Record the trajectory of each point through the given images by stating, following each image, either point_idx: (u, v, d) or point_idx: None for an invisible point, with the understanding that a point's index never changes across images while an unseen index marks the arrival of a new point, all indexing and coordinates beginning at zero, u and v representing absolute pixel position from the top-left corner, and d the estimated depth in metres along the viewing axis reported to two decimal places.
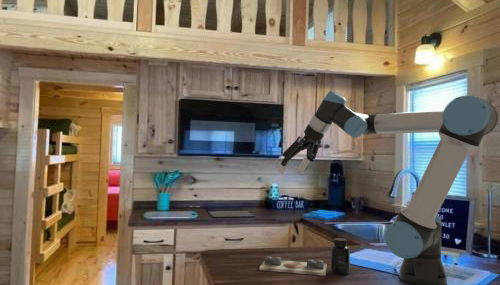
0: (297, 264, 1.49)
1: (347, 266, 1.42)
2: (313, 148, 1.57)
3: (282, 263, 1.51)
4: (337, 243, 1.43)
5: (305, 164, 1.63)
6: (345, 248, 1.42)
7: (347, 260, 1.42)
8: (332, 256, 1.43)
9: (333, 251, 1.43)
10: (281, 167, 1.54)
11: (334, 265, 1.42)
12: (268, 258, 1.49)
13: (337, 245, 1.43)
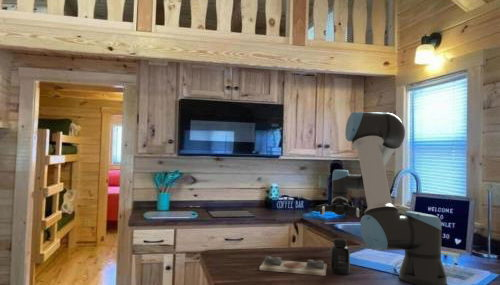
0: (297, 264, 1.49)
1: (347, 266, 1.42)
2: (347, 204, 1.68)
3: (282, 263, 1.51)
4: (337, 243, 1.43)
5: None
6: (345, 248, 1.42)
7: (347, 260, 1.42)
8: (332, 256, 1.43)
9: (333, 251, 1.43)
10: (322, 211, 1.60)
11: (334, 265, 1.42)
12: (268, 258, 1.49)
13: (337, 245, 1.43)
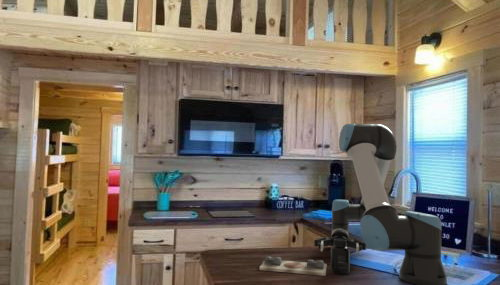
0: (297, 264, 1.49)
1: (347, 266, 1.42)
2: (347, 238, 1.63)
3: (282, 263, 1.51)
4: (337, 243, 1.43)
5: (356, 245, 1.54)
6: (345, 248, 1.42)
7: (347, 260, 1.42)
8: (332, 256, 1.43)
9: (333, 251, 1.43)
10: (320, 247, 1.55)
11: (334, 265, 1.42)
12: (268, 258, 1.49)
13: (337, 245, 1.43)
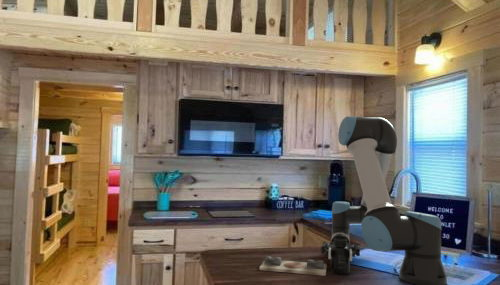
0: (297, 264, 1.49)
1: (347, 266, 1.42)
2: None
3: (282, 263, 1.51)
4: (337, 243, 1.43)
5: None
6: (345, 248, 1.42)
7: (347, 260, 1.42)
8: (332, 256, 1.43)
9: (334, 251, 1.43)
10: None
11: (334, 265, 1.42)
12: (268, 258, 1.49)
13: (337, 245, 1.43)
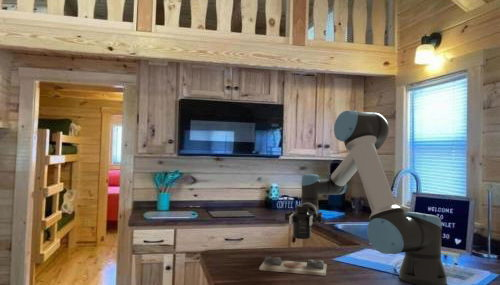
0: (297, 264, 1.49)
1: (308, 231, 1.47)
2: (310, 211, 1.58)
3: (282, 263, 1.51)
4: (299, 209, 1.48)
5: None
6: (306, 214, 1.47)
7: (308, 225, 1.47)
8: (294, 221, 1.48)
9: (295, 217, 1.48)
10: None
11: (296, 230, 1.47)
12: (268, 258, 1.49)
13: (298, 211, 1.48)
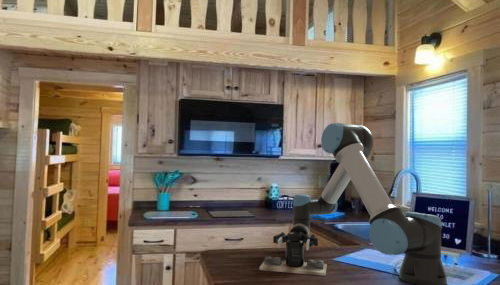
0: None
1: (300, 259, 1.46)
2: (304, 234, 1.57)
3: (282, 263, 1.51)
4: (291, 237, 1.47)
5: (307, 241, 1.47)
6: (299, 242, 1.46)
7: (300, 253, 1.46)
8: (286, 249, 1.47)
9: (288, 245, 1.47)
10: None
11: (288, 258, 1.46)
12: (268, 258, 1.49)
13: (291, 238, 1.47)
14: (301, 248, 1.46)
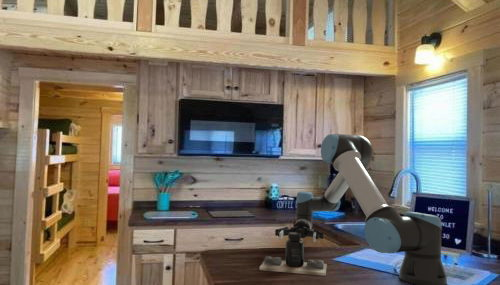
0: None
1: (300, 259, 1.46)
2: (307, 228, 1.70)
3: (282, 263, 1.51)
4: (291, 237, 1.47)
5: (314, 234, 1.61)
6: (299, 242, 1.46)
7: (300, 253, 1.46)
8: (286, 249, 1.47)
9: (287, 245, 1.47)
10: None
11: (288, 259, 1.46)
12: (268, 258, 1.49)
13: (291, 238, 1.47)
14: (301, 248, 1.46)
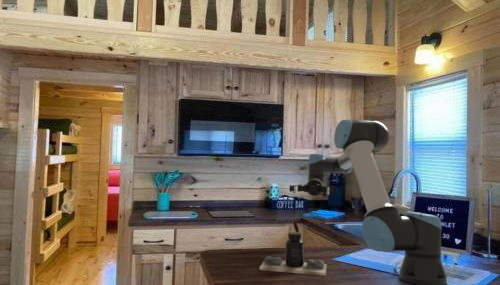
0: None
1: (300, 259, 1.46)
2: (320, 184, 1.75)
3: (282, 263, 1.51)
4: (291, 237, 1.47)
5: None
6: (299, 242, 1.46)
7: (300, 253, 1.46)
8: (286, 249, 1.47)
9: (287, 245, 1.47)
10: None
11: (288, 259, 1.46)
12: (268, 258, 1.49)
13: (291, 238, 1.47)
14: (301, 248, 1.46)
